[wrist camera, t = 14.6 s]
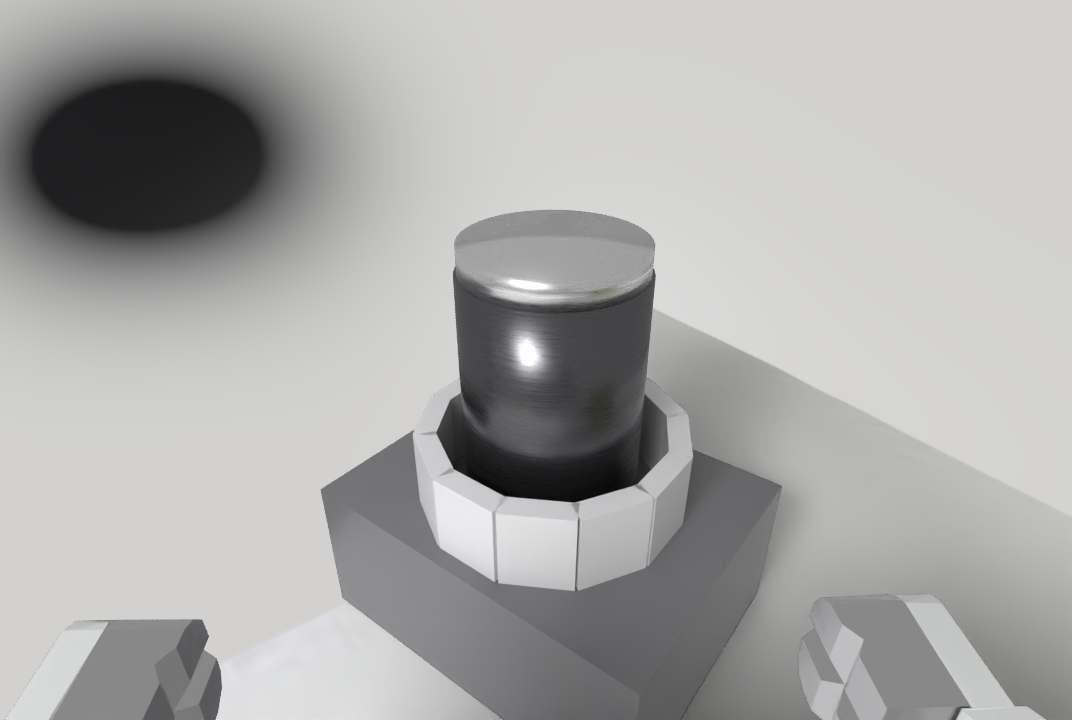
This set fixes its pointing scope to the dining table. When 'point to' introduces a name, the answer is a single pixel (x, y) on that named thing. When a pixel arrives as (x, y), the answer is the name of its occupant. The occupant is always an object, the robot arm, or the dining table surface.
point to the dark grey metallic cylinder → (553, 351)
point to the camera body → (555, 570)
